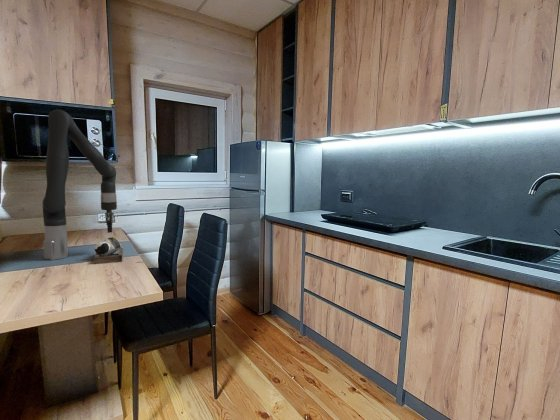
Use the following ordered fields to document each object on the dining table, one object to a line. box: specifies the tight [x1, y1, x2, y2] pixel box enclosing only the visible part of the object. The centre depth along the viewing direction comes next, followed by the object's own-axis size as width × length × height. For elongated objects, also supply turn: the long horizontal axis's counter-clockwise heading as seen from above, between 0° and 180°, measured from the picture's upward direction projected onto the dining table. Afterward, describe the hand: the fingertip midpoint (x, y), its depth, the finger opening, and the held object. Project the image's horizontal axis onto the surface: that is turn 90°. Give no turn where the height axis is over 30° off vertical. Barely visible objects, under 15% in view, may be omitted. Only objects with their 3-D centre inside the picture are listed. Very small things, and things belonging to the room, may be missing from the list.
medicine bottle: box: [94, 236, 123, 256], centre depth 158 cm, size 7×7×12 cm
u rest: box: [93, 247, 124, 265], centre depth 156 cm, size 18×12×3 cm, turn 26°
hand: (109, 232), depth 164 cm, fingers closed
